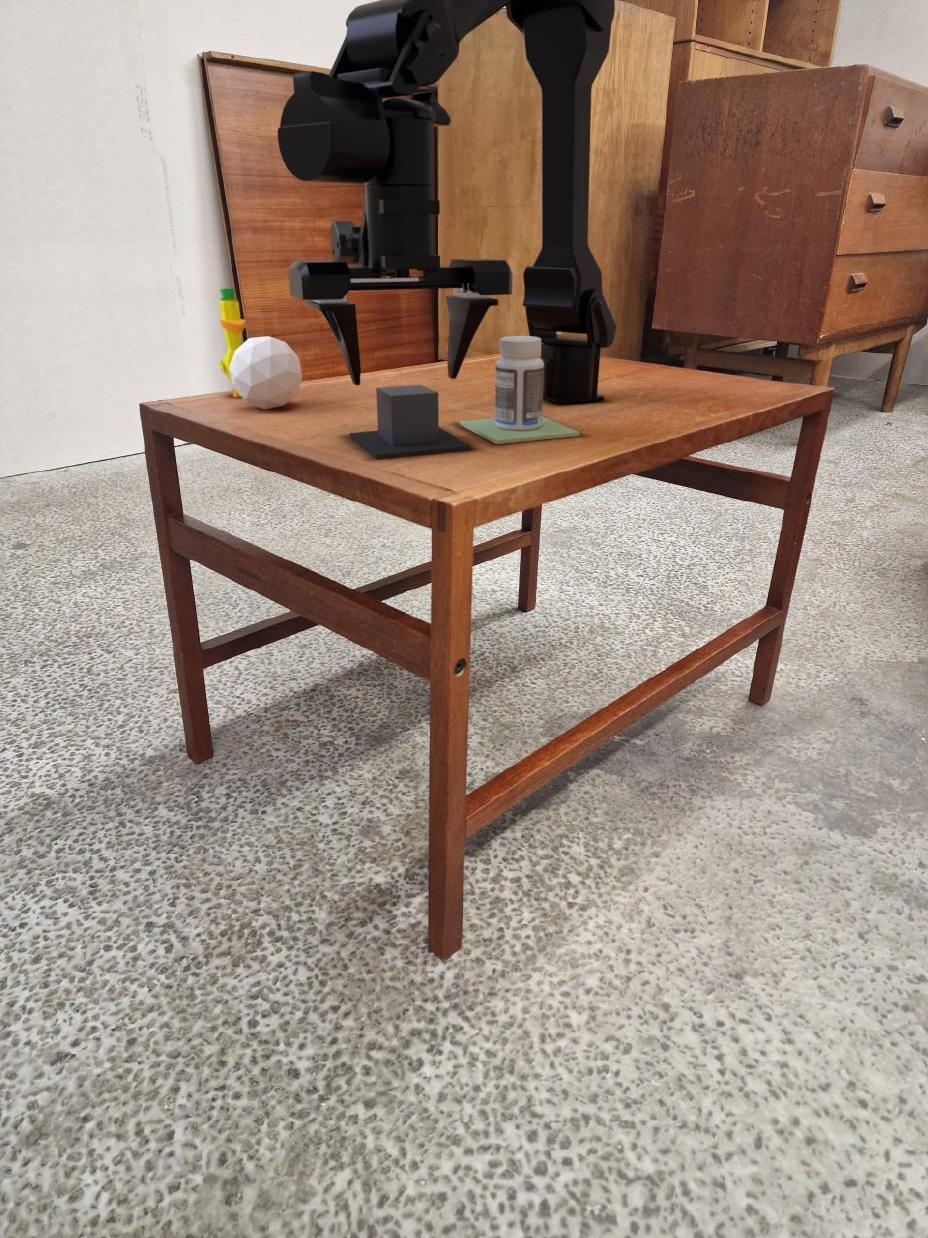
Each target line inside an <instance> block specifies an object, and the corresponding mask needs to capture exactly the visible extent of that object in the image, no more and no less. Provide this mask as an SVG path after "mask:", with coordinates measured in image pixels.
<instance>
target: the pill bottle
mask: <svg viewBox="0 0 928 1238" xmlns="http://www.w3.org/2000/svg"><path fill="white" fill-rule="evenodd" d="M541 344H542V343H541V338H539V337H533V336H529V335H512V336H511V335H510V336H503V337H501V338H499V350H498V351H499V354H500V355H501V357H499V358H498V359H497V361H495V377H494V379H495V381H494V383H495V388H494V389H495V393H494V396H495V397H494V398H495V399H494V404H495V405H494V407H495V408H494V418H495V424H496V426H497V427H499V428H501V429H506V430H533V429H536V428H539V427H540V426H541V424H542V417H543V410H544V409H543V407H544V404H543V403H544V399H543V381H544V362H543V360H542V359H540V358H539V357H540V356H539V355H541Z"/></svg>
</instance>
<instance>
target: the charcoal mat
mask: <svg viewBox="0 0 928 1238" xmlns="http://www.w3.org/2000/svg"><path fill="white" fill-rule="evenodd" d="M348 436H349V438H350V439H351V440H352V441H354V442H355V443H356V444H358V446H360V448H362V449H364V450H365V451H366V452H367V453H369V454H370V455H371V456H372V457H373V458H375V459H376V460H381V459H392V458H402V457H411V456H421V455H432V454H442V453H443V454H444V453H452V452H460V451H470V450H471V449H472V448H471V445H470V444H469V443H467V442H465V441H464V440H462V439H460V438H458V437H456V436H455V435H453V434H451V433H449V432H448V431H446V430H444V429H443V428H441V427H439V442H433V443H423V444H412V445H402V446H392V445H390V444H389V443H388V442H386V441H385V440H384V439H382V438H381V437H379V436H378V430H369V431H358V432H357V431H356V432H349V433H348Z"/></svg>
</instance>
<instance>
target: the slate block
mask: <svg viewBox="0 0 928 1238" xmlns="http://www.w3.org/2000/svg"><path fill="white" fill-rule="evenodd" d="M375 392H376V393H375V395H376V413H377V414H376V417H377V431H378V436H379V437H381V438H382V439H384V440H385V441H386V442H388V443H389V444H390V445H392V446H402V445H412V444H423V443H433V442H439V428H440V427H439V425H440V423H439V392H438V391H436V390H434V389H431V388H429V387H428V386H425V385H423V384H411V385H397V386H382V387H376V388H375Z"/></svg>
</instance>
